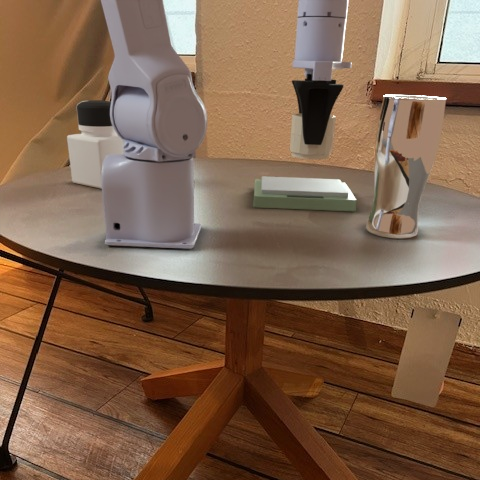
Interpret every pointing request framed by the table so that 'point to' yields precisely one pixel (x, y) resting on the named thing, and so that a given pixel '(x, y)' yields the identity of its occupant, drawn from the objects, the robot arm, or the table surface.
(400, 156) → the beer glass
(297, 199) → the scale
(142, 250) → the table surface
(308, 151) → the cup
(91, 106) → the medicine bottle
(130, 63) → the robot arm
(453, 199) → the table surface
